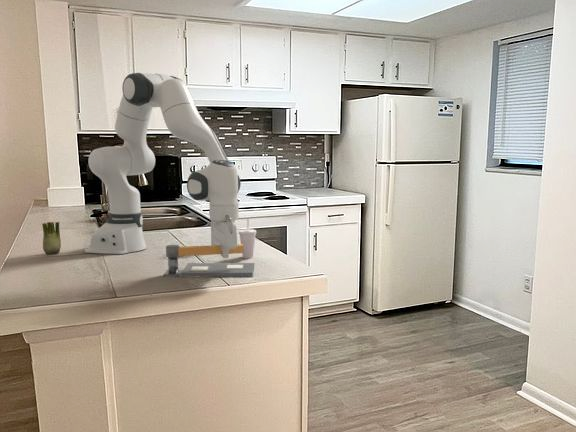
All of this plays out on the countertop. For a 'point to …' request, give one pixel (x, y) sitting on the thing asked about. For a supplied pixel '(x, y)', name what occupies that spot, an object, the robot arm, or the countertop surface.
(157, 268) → the countertop surface
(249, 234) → the smoothie
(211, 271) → the tray
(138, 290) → the countertop surface
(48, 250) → the fennel bulb
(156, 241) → the countertop surface
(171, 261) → the pivot post
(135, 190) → the robot arm
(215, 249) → the strip
